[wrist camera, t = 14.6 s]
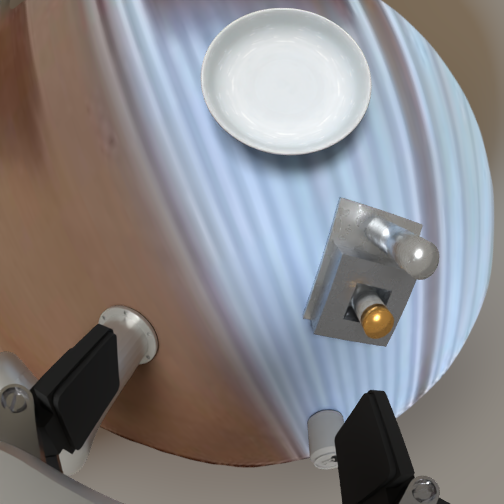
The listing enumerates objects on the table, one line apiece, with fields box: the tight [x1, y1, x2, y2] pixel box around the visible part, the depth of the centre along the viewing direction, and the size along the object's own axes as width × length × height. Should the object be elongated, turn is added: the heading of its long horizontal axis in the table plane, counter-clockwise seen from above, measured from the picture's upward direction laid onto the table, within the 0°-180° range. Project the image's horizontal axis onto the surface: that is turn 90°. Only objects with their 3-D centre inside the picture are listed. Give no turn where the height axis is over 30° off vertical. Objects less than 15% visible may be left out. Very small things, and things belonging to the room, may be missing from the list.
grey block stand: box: [303, 197, 439, 347], centre depth 33 cm, size 19×14×15 cm
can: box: [308, 410, 344, 469], centre depth 44 cm, size 8×8×12 cm
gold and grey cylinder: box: [350, 283, 394, 339], centre depth 36 cm, size 4×4×10 cm
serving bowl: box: [201, 8, 371, 155], centre depth 31 cm, size 21×21×7 cm
